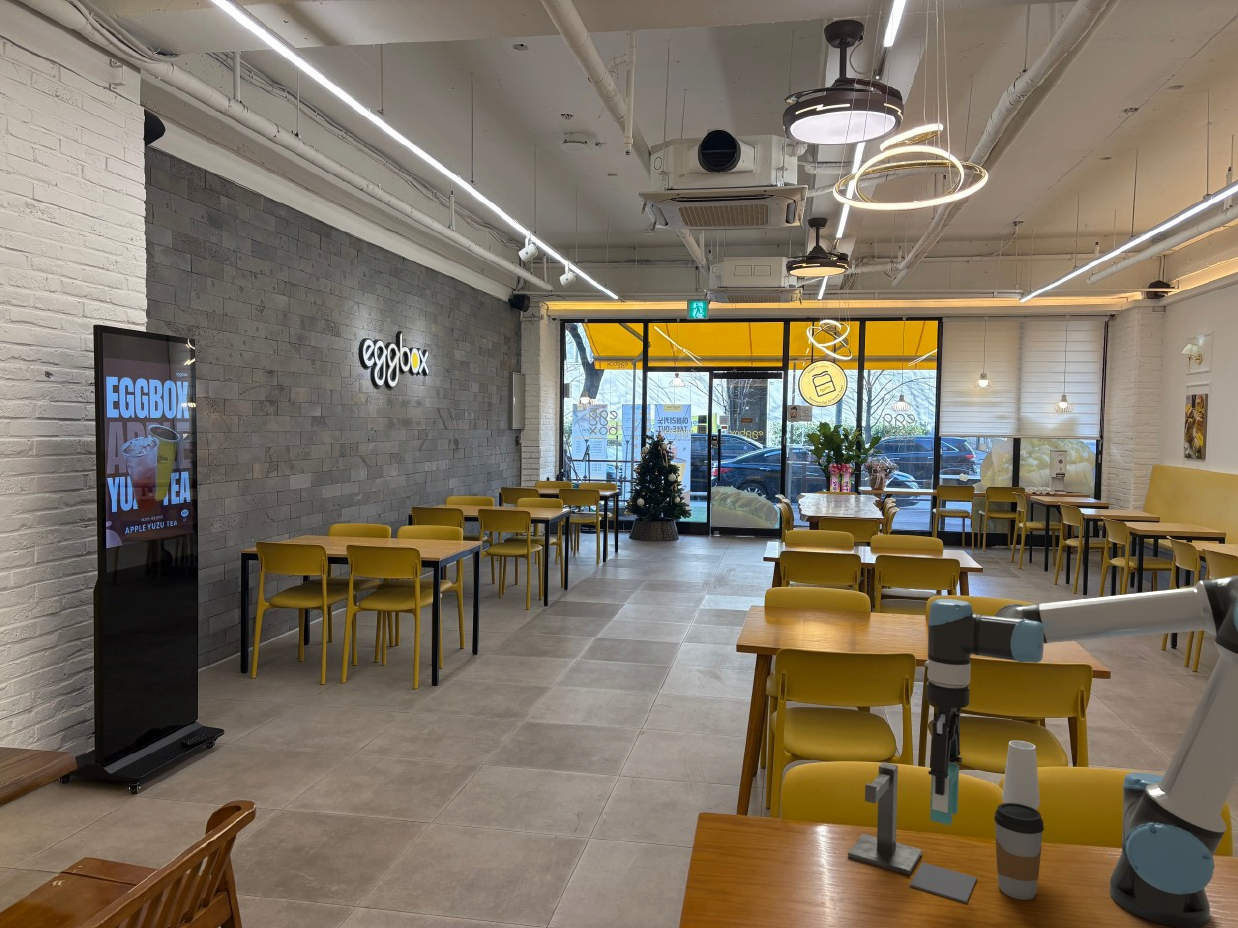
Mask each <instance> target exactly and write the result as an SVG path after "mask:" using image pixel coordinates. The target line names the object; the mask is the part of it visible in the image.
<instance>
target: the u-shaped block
mask: <svg viewBox="0 0 1238 928" xmlns="http://www.w3.org/2000/svg"><path fill="white" fill-rule="evenodd" d="M959 774H960V765H959V764H958V765H956V764H952V763H949V767H948V776H949V804H948V813H946V812H942V811H938V810H934V809H932V795H933V775H931V779H930V780H931V786H930V788H931V789H930V813H929V814H930V819H929V821H932V822H936V823H940V824H944V825H946V826H947V825H948V826H951V824H952V823H953V815H957V814H958V811H959V810H958V808H959V783H960V782H959V781H960V779H959V776H960V775H959Z"/></svg>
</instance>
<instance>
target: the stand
mask: <svg viewBox="0 0 1238 928" xmlns="http://www.w3.org/2000/svg"><path fill="white" fill-rule="evenodd" d="M898 772H899V765H898V764H895V763H889V762H885V761H882V762H881V763H880V764H879V766H878V775H877V776H875V777H876V778H875V779H873V780H872V782H871V783H869V782H866V783H865V786H864V788H865V789H864V801H865V802H867V803H871V804H875V805H876V804H877V822H876V823H877V826H876V827H877V831H876V832H877V833H876V835H877V837H876V836H874V835H871V834H866V833H862V834H861V835H860V836H859V838H857V840H856V842H855V843H854V844H853V845H852V847H851V848H850V849H849V851H847V859H852V860H855V861H859V862H861V863H864V864H865V863H866V864H868V865H872V866H875V867H879V868H882V869H886V870H889V871H892V872H896V873H899V874H902V875H905V876H911V873H912V872H913V870H914V869H915V867H916V865H917V863H918V862H919V860H920V858H921V857H922V854H923V849H920V848H917V847H914V846H910V845H906V844H903V843H899V842H897V824H898V823H897V817H898V816H897V813H898V781H899V780H898V777H899V776H898V774H899V773H898ZM920 856H921V857H920Z"/></svg>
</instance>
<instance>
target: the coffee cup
mask: <svg viewBox="0 0 1238 928" xmlns="http://www.w3.org/2000/svg"><path fill="white" fill-rule="evenodd" d="M993 820H994V822H995V850H996V851H995V853H996V871H997V881H998V882H997V883H998V887H999V889H1000V891H1001V892H1002V893H1003V894H1004V895H1006V896H1008V897H1010V898H1013V899H1016V900H1024V901H1025V900H1027V901H1028V900H1032V899H1034V898H1035V896H1036V895H1037V890H1038V880H1039V877H1040V875H1039V874H1040V867H1041V865H1040V864H1041V854H1042V840H1043V832H1044V830H1045V827H1044V820H1043V819H1042V814H1041V813H1040V812H1039V810H1038V809H1037V810H1035V809H1033V808H1031V807H1029V806H1026V805H1022V804H1016V803H1004V802H1003V803H1000V804H999V805H997V809H996V810H995V811H994V818H993Z"/></svg>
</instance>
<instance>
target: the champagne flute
mask: <svg viewBox="0 0 1238 928" xmlns="http://www.w3.org/2000/svg"><path fill="white" fill-rule="evenodd" d="M1036 748H1037V747H1036V745H1035V744H1034V743H1031V742H1029V741H1028V742H1027V741H1025V740H1010V741H1009V742H1008V748H1007V755H1006V764H1005V772H1004V777H1003V778H1004V779H1003V784H1002V785H1003V786H1002V793H1001V797H1002V798H1001V799H1002V802H1003V803H1016V804H1022V805H1026V806H1029V807H1031V808H1033V809H1035V810H1037V811H1038V808H1039V807H1040V805H1041V799H1040V787H1039V776H1038V774H1039V773H1038V764H1037V763H1038V762H1037V761H1038V760H1037V750H1036Z"/></svg>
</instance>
